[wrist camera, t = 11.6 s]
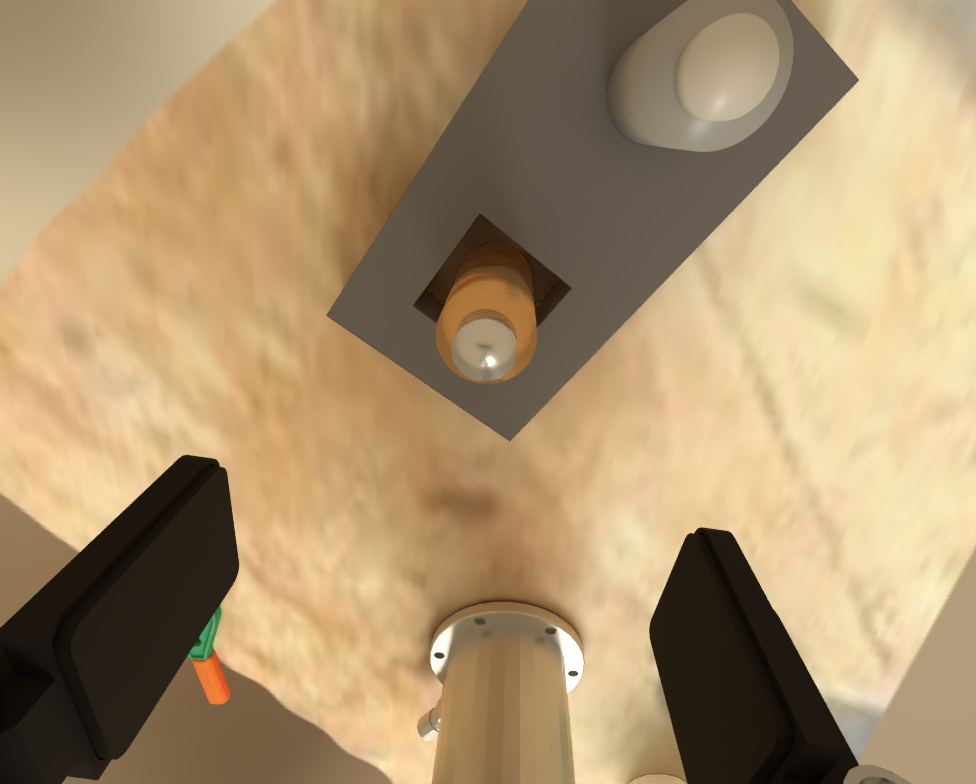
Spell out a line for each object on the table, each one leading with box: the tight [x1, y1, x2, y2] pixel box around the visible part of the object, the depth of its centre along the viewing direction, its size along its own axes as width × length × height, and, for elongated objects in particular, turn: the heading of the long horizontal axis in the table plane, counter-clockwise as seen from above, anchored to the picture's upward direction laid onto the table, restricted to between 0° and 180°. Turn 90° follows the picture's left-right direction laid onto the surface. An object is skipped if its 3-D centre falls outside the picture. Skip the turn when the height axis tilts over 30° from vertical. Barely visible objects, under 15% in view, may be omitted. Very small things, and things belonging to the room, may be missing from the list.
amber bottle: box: [436, 243, 537, 384], centre depth 23 cm, size 4×4×10 cm
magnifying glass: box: [188, 605, 230, 704], centre depth 43 cm, size 15×6×2 cm, turn 1°
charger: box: [326, 0, 859, 441], centre depth 20 cm, size 22×12×11 cm, turn 143°
